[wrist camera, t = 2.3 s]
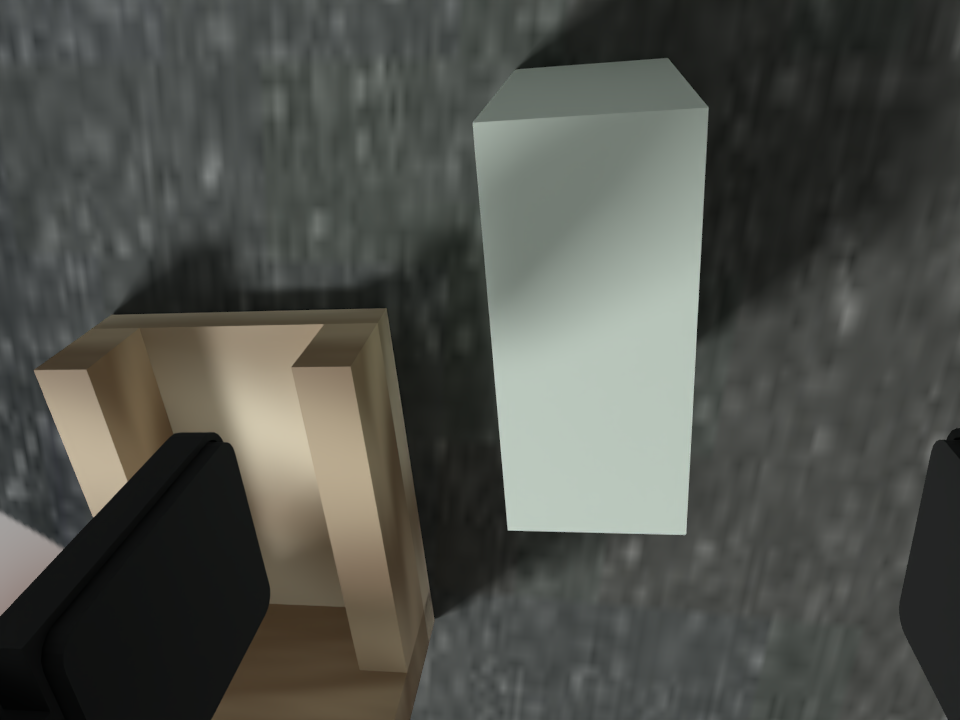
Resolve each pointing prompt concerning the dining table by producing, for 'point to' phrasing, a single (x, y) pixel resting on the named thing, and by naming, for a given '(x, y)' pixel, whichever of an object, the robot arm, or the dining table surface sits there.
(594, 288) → the pale green tall block
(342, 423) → the track block
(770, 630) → the dining table surface
